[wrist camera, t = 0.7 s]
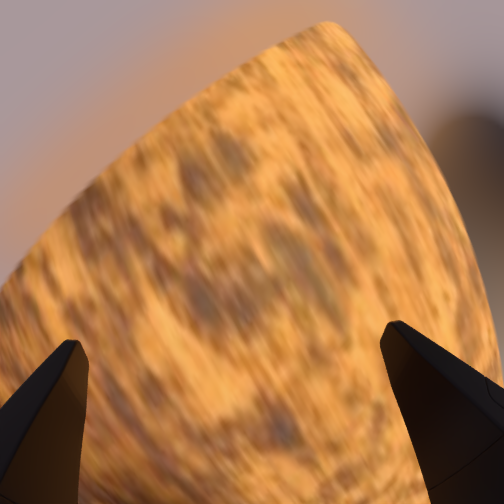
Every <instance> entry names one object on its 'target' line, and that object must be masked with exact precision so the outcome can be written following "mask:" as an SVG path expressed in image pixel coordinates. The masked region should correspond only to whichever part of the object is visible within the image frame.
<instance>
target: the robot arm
mask: <svg viewBox="0 0 504 504" xmlns="http://www.w3.org/2000/svg"><path fill="white" fill-rule="evenodd" d="M380 349H381V352H382V355H383V359H384V362H385V366H386V369H387V373H388V377H389V380H390V384H391V387H392V390H393V393H394V395H395V398H396V400H397V403H398V406H399V408H400V411H401V414H402V416H403V419H404V422H405V425H406V427H407V430H408V433H409V436H410V439H411V442H412V445H413V447H414V450H415V453H416V456H417V459H418V462H419V466H420V469H421V472H422V475H423V478H424V481H425V485H426V488H427V491H428V495H429V499H430V502H431V504H504V389H503V388H502V387H500V386H499V385H497V384H496V383H494V382H493V381H491V380H490V379H488V378H487V377H484V375H483V374H481V373H480V372H478V371H477V370H475V369H474V368H472V367H471V366H469V365H468V364H466V363H465V362H463V361H462V360H460V359H459V358H457V357H456V356H454V355H453V354H451V353H450V352H448V351H447V350H445V349H444V348H442V347H441V346H439V345H438V344H436V343H435V342H433V341H432V340H430V339H429V338H427V337H426V336H424V335H423V334H421V333H420V332H418V331H417V330H415V329H413V328H412V327H410V326H409V325H407V324H406V323H404V322H403V321H401V320H397V321H391V322H389V323H388V324H387V325H386V328H385V330H384V333H383V335H382V337H381V340H380ZM88 372H89V361H88V358H87V356H86V354H85V351H84V349H83V347H82V345H81V343H80V342H79V341H78V340H69V339H67V340H65V341H64V342H63V343H62V344H61V345H60V346H59V347H58V348H57V349H56V350H55V351H54V352H53V353H52V354H51V355H50V356H49V357H48V358H47V359H46V360H45V361H44V362H43V363H42V364H41V365H40V366H39V367H38V368H37V369H36V370H35V371H34V372H33V373H32V375H31V376H30V377H29V378H28V379H27V380H26V381H25V382H24V383H23V384H22V385H21V386H20V387H19V389H18V390H17V391H16V392H15V393H14V394H13V395H12V396H11V397H10V398H9V400H8V401H7V402H6V403H5V404H4V405H3V406H2V407H1V409H0V504H78V484H79V470H80V458H81V448H82V440H83V432H84V424H85V417H86V405H87V386H88Z"/></svg>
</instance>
